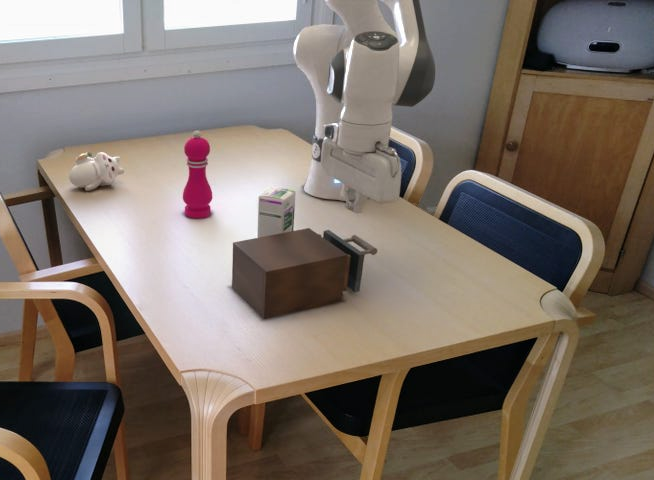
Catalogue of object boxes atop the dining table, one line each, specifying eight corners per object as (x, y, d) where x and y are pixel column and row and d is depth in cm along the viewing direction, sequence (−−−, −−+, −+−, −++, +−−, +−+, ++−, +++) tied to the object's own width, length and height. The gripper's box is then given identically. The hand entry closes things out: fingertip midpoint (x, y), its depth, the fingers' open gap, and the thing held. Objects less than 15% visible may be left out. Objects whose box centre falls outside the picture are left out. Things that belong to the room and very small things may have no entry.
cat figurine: (65, 156, 176) (118, 141, 180) (61, 164, 184) (112, 150, 188) (77, 192, 177) (130, 176, 181) (73, 198, 185) (123, 183, 189)
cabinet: (305, 271, 139) (309, 227, 133) (341, 301, 128) (347, 254, 123) (231, 287, 134) (232, 242, 128) (263, 319, 123) (266, 271, 118)
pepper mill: (209, 220, 162) (210, 135, 151) (180, 218, 164) (178, 134, 153) (214, 208, 168) (214, 126, 157) (186, 207, 170) (184, 126, 158)
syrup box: (281, 266, 141) (285, 199, 133) (255, 260, 144) (258, 194, 135) (292, 256, 145) (297, 190, 137) (267, 250, 147) (270, 185, 139)
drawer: (345, 260, 140) (349, 225, 136) (381, 286, 131) (387, 249, 126) (257, 279, 134) (258, 243, 130) (288, 307, 125) (290, 269, 120)
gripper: (416, 149, 112) (402, 227, 119) (347, 120, 128) (338, 191, 135) (384, 153, 110) (372, 233, 117) (317, 124, 126) (311, 195, 133)
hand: (353, 210), depth 126 cm, fingers closed
